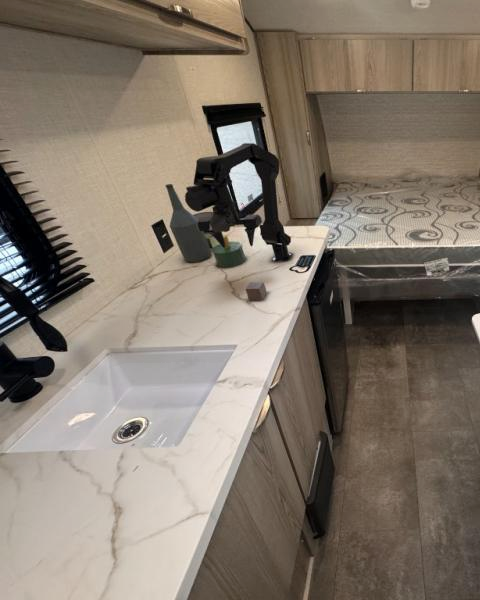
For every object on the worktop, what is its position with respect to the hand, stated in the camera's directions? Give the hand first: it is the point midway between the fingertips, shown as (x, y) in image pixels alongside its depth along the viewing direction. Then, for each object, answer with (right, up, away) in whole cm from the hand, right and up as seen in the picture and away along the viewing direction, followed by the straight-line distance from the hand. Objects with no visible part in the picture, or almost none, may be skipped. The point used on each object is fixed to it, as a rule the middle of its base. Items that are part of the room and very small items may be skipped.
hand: (238, 246), depth 110 cm
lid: (-14, +2, +19) cm, 23 cm away
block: (+7, -17, -1) cm, 19 cm away
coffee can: (-29, +6, +36) cm, 47 cm away
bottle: (-30, -1, +26) cm, 39 cm away
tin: (-13, -3, +22) cm, 26 cm away
